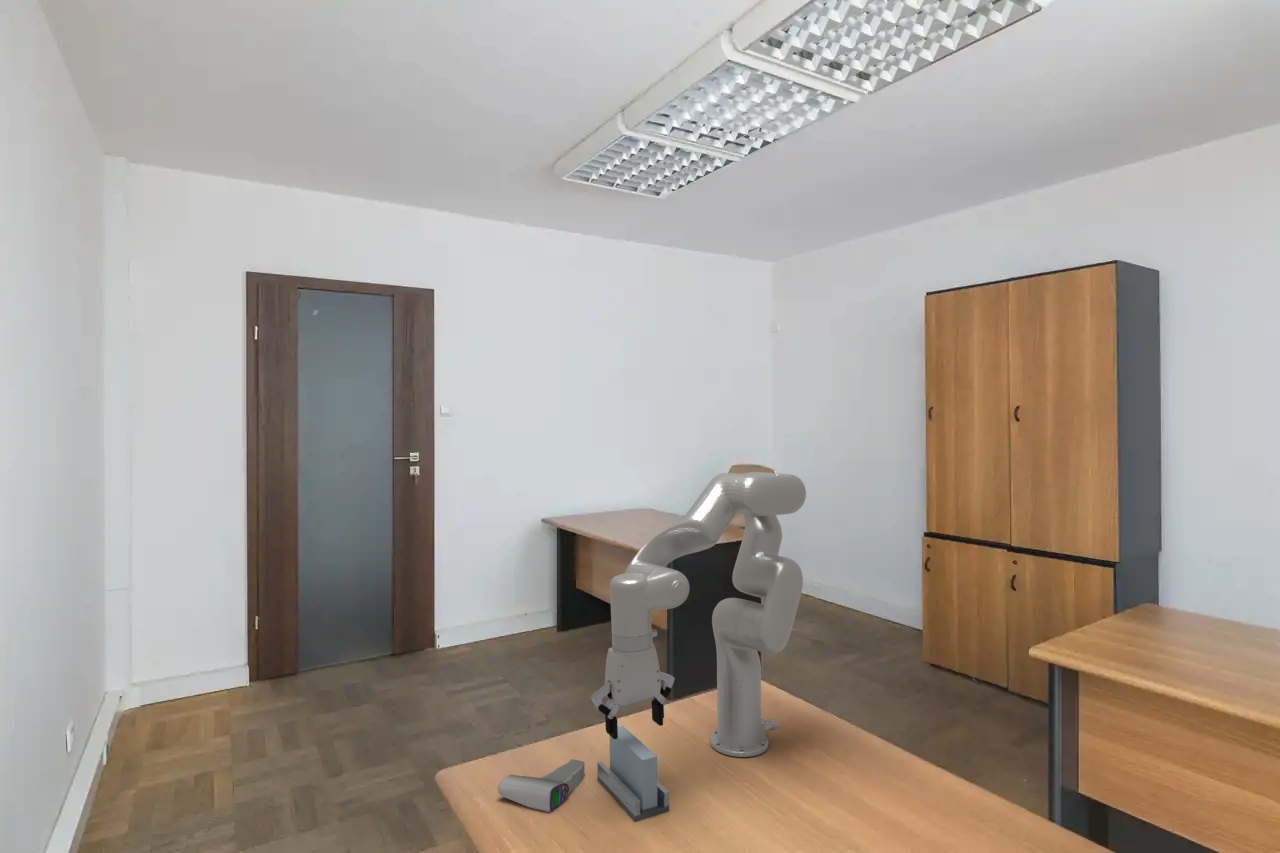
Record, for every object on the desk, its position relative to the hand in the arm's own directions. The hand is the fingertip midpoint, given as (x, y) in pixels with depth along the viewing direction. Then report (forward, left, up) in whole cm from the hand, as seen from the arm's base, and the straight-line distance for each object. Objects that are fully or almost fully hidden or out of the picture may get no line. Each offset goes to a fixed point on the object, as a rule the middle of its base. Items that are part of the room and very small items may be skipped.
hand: (635, 729), depth 130 cm
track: (+1, 0, -12) cm, 12 cm away
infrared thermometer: (+15, -10, -13) cm, 22 cm away
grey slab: (+1, 0, -11) cm, 11 cm away
